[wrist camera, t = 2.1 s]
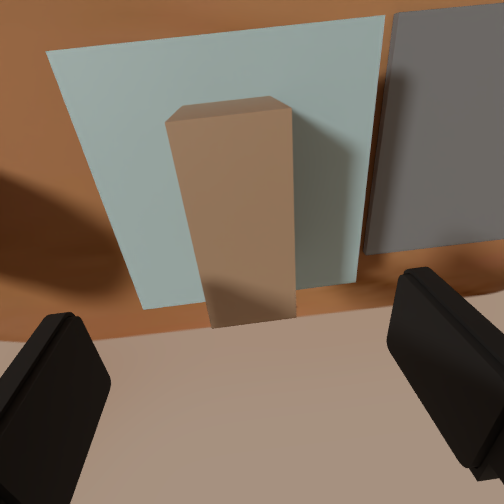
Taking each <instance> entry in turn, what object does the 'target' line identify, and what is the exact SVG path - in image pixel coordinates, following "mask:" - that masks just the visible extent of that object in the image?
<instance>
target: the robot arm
mask: <svg viewBox="0 0 504 504" xmlns="http://www.w3.org/2000/svg"><path fill="white" fill-rule="evenodd" d="M387 346H388V349H389V351H390V353H391V355H392V356H393V358H394V359H395V361H396V362H397V364H398V366H399V367H400V369H401V370H402V372H403V374H404V375H405V377H406V378H407V380H408V382H409V383H410V385H411V386H412V388H413V390H414V391H415V393H416V394H417V396H418V398H419V399H420V401H421V402H422V404H423V405H424V407H425V409H426V410H427V412H428V413H429V415H430V417H431V418H432V420H433V421H434V423H435V424H436V426H437V428H438V429H439V431H440V433H441V434H442V436H443V437H444V439H445V441H446V442H447V444H448V445H449V447H450V448H451V450H452V452H453V453H454V455H455V456H456V458H457V459H458V461H459V462H460V463H461V465H462V466H464V467H465V468H469V469H470V471H471V472H472V474H473V475H474V477H475V478H476V480H477V481H483V480H490V479H497V478H500V480H501V481H502V482H503V484H504V334H503V333H502V332H501V331H500V330H499V329H498V328H496V327H495V326H494V325H493V324H492V323H491V322H490V321H489V320H488V319H486V318H485V317H484V316H483V315H482V314H481V313H480V312H479V311H477V310H476V309H475V308H474V307H473V306H472V305H471V304H469V303H468V302H467V301H466V300H465V299H464V298H463V297H462V296H461V295H460V294H458V293H457V292H456V291H455V290H454V289H453V288H452V287H451V286H449V285H448V284H447V283H446V282H445V281H444V280H443V279H442V278H441V277H439V276H438V275H437V274H436V273H435V272H434V271H433V270H432V269H430V268H429V267H420V268H412V269H407V270H405V271H404V274H403V275H400V276H399V279H398V283H397V288H396V294H395V299H394V304H393V309H392V314H391V319H390V324H389V329H388V335H387ZM110 386H111V380H110V376H109V374H108V372H107V370H106V368H105V366H104V364H103V362H102V360H101V358H100V356H99V354H98V352H97V350H96V348H95V346H94V344H93V342H92V340H91V338H90V335H89V333H88V331H87V329H86V327H85V325H84V323H83V321H82V319H81V318H80V317H79V316H75V315H74V314H73V313H72V312H66V313H58V314H50V315H47V316H46V317H45V318H44V319H43V320H42V322H41V323H40V324H39V326H38V327H37V329H36V330H35V331H34V333H33V334H32V335H31V337H30V338H29V340H28V341H27V342H26V344H25V345H24V347H23V348H22V349H21V350H20V352H19V353H18V355H17V356H16V357H15V359H14V360H13V362H12V363H11V364H10V366H9V367H8V368H7V370H6V371H5V372H4V374H3V375H2V376H1V378H0V504H70V502H71V499H72V497H73V494H74V491H75V488H76V485H77V482H78V479H79V477H80V474H81V471H82V468H83V465H84V462H85V459H86V457H87V454H88V451H89V448H90V445H91V442H92V440H93V437H94V434H95V431H96V428H97V425H98V422H99V419H100V416H101V414H102V411H103V408H104V405H105V402H106V400H107V397H108V394H109V391H110Z"/></svg>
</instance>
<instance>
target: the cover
mask: <svg viewBox="0 0 504 504" xmlns="http://www.w3.org/2000/svg"><path fill="white" fill-rule="evenodd" d="M384 21H385V15H381V16H372V17H363V18H353V19H344V20H334V21H325V22H316V23H306V24H297V25H288V26H278V27H269V28H260V29H250V30H241V31H231V32H222V33H213V34H203V35H194V36H185V37H175V38H166V39H157V40H147V41H138V42H128V43H119V44H110V45H100V46H91V47H82V48H72V49H63V50H54V51H46V54H47V56H48V59H49V62H50V64H51V67H52V70H53V72H54V75H55V77H56V80H57V83H58V85H59V88H60V91H61V93H62V96H63V99H64V101H65V104H66V107H67V109H68V112H69V114H70V117H71V120H72V122H73V125H74V128H75V130H76V133H77V136H78V138H79V141H80V144H81V146H82V149H83V151H84V154H85V157H86V159H87V162H88V165H89V167H90V170H91V173H92V175H93V178H94V181H95V183H96V186H97V188H98V191H99V194H100V196H101V199H102V202H103V204H104V207H105V210H106V212H107V215H108V218H109V220H110V223H111V225H112V228H113V231H114V233H115V236H116V239H117V241H118V244H119V247H120V249H121V252H122V255H123V257H124V260H125V262H126V265H127V268H128V270H129V273H130V276H131V278H132V281H133V284H134V286H135V289H136V292H137V294H138V297H139V299H140V302H141V305H142V307H143V310H145V309H152V308H160V307H168V306H176V305H183V304H191V303H199V302H206V305H207V310H208V314H209V319H210V323H211V327H212V329H214V328H221V327H229V326H236V325H244V324H251V323H259V322H267V321H274V320H282V319H289V318H296V290H299V289H307V288H314V287H322V286H330V285H338V284H345V283H353V282H356V275H357V266H358V257H359V248H360V239H361V230H362V221H363V212H364V203H365V193H366V184H367V175H368V166H369V157H370V148H371V139H372V130H373V121H374V112H375V103H376V94H377V85H378V76H379V67H380V58H381V49H382V39H383V30H384Z"/></svg>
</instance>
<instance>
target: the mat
mask: <svg viewBox="0 0 504 504" xmlns="http://www.w3.org/2000/svg"><path fill="white" fill-rule="evenodd" d="M500 239H504V3H496V4H485V5H475V6H464V7H453V8H442V9H432V10H421V11H410V12H399V13H396V14H394V18H393V26H392V34H391V41H390V49H389V57H388V64H387V72H386V80H385V87H384V95H383V103H382V110H381V118H380V126H379V133H378V141H377V149H376V156H375V164H374V171H373V179H372V187H371V194H370V202H369V210H368V217H367V225H366V233H365V240H364V248H363V252H364V254H365V255H373V254H381V253H390V252H398V251H407V250H415V249H424V248H432V247H440V246H449V245H457V244H466V243H474V242H483V241H491V240H500Z"/></svg>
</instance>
